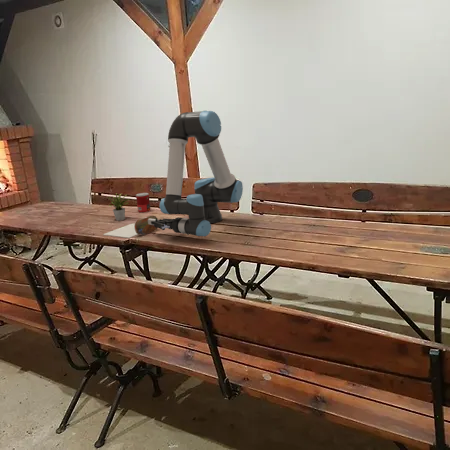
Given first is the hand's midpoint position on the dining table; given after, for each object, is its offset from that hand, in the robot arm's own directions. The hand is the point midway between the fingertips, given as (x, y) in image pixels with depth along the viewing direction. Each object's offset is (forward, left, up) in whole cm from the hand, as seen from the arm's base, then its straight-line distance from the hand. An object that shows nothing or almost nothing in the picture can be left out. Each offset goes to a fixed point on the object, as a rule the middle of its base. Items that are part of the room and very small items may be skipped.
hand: (149, 221), depth 235 cm
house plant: (+39, -16, -7) cm, 43 cm away
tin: (+2, 0, -7) cm, 7 cm away
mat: (+14, 0, -6) cm, 16 cm away
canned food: (+39, -38, -7) cm, 55 cm away
